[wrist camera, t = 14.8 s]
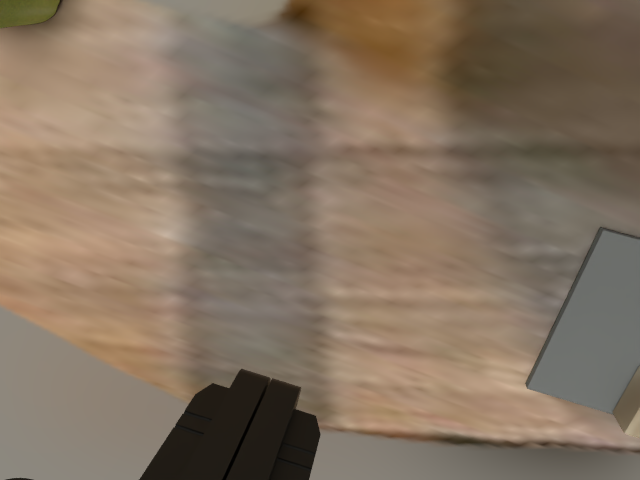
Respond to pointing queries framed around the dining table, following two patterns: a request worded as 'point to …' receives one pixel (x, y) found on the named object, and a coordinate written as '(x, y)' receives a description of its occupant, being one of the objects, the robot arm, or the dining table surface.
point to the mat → (596, 329)
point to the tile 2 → (630, 407)
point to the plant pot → (26, 11)
